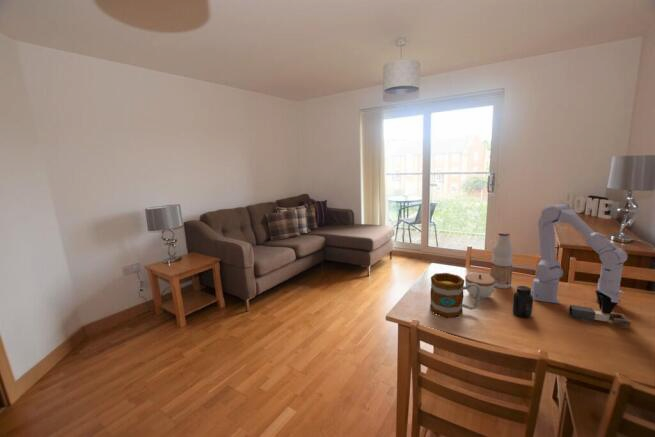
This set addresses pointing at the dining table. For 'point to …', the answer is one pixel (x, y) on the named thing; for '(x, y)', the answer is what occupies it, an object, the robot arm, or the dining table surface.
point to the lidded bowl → (480, 284)
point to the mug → (449, 295)
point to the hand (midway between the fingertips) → (604, 311)
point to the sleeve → (582, 313)
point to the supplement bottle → (523, 302)
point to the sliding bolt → (601, 316)
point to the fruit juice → (502, 261)
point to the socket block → (619, 320)
